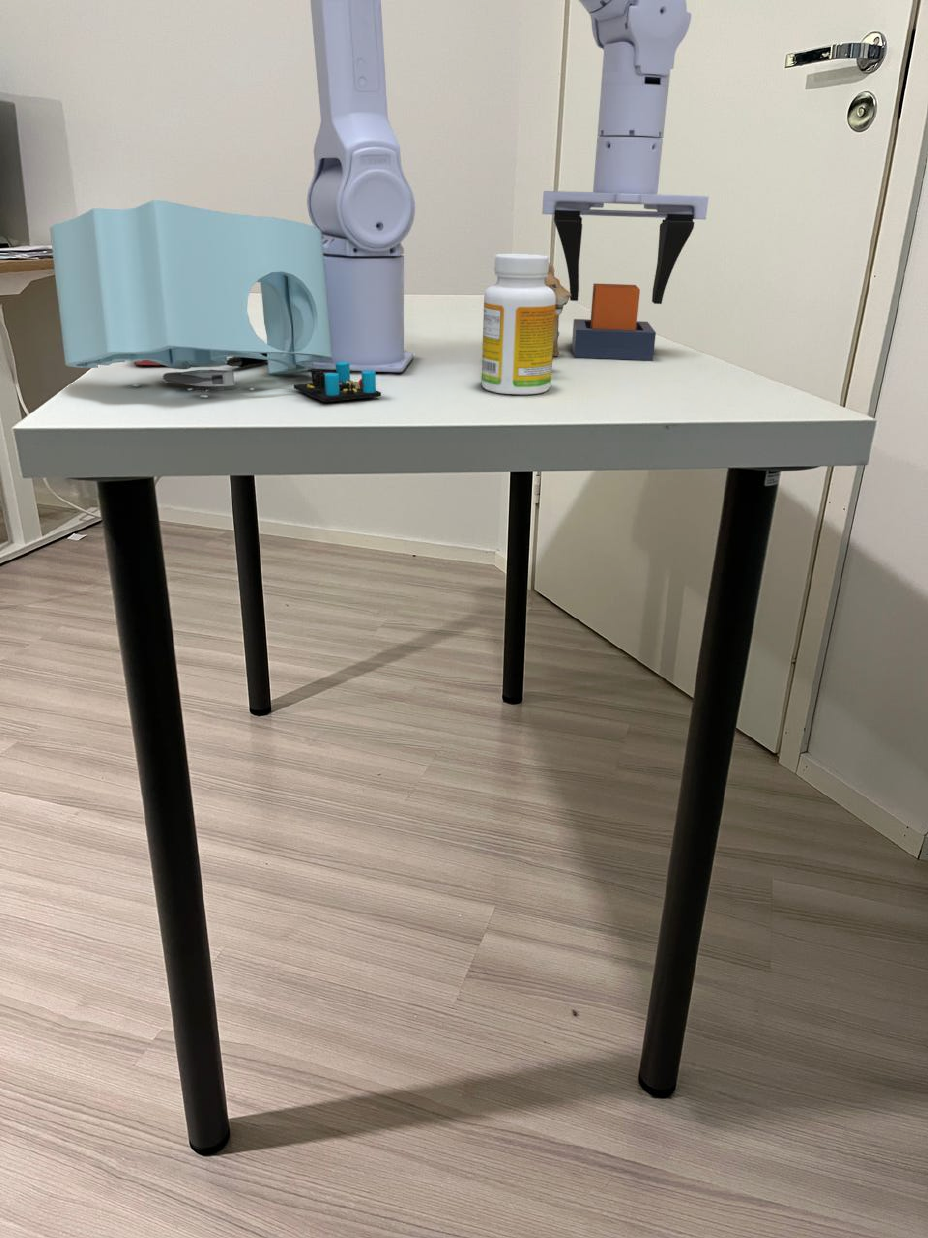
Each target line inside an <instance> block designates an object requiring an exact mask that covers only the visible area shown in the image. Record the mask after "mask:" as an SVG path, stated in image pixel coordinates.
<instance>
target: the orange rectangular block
mask: <svg viewBox="0 0 928 1238" xmlns="http://www.w3.org/2000/svg"><path fill="white" fill-rule="evenodd" d="M592 285H593V286H592V297H591V308H590V309H591V310H590V320H591V321H590V328H591V329H618V330H636V324H637V321H638V313H639V304H640V303H639V302H640V293H641V289H640V288H639V287H638V286H637V285H636V284H622V283H621V284H618V283H595V282H594V283H593V284H592Z"/></svg>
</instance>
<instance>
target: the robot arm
mask: <svg viewBox="0 0 928 1238" xmlns="http://www.w3.org/2000/svg"><path fill="white" fill-rule="evenodd" d="M578 2H579V3H580V5H582V7H583V8H584V9H585V10H586V12H587V13H588V14H589V16H590V21H591V31H592V36H593V40H594V41H595V44H596V46H597V47H598V48H600V49H602V50H603V59H602V73H601V84H600V85H601V86H600V96H599V110H598V125H597V135H596V136H597V137H596V148H595V159H594V160H595V162H594V172H593V174H594V175H593V187H592V191H567V190H562V191H561V190H560V191H559V190H543V195H542V199H543V200H542V213H541V214H542V215H553V222H554V225H555V228H556V231H557V234H558V236H559V239H560V244H561V246H562V251H563V255H564V259H565V263H566V268H567V273H568V274H567V275H568V282H569V292H570V293H571V297H570V298H569V301H571V302H572V301H573V302H579V296H580V294H579V293H580V255H581V244H582V234H583V233H582V232H583V218H582V216H597V217H598V216H600V217H630V218H659V219H660V218H661V219H662V222H661V223H660V224H659V234H658V235H659V236H658V250H657V263H656V269H655V274H654V281H653V287H652V292H651V293H652V294H651V302H652V303H653V304H654V305H662V304H663V300H664V295H665V292H666V289H667V285H668V282H669V280H670V276H671V274H672V271H673V270H674V267H675V265H676V262H677V261H678V258H679V256H680V254H681V252H682V250H683V248H684V247H685V245H686V243H687V241H688V240H689V238H690V237H691V235H692V234H693V233H692V232H693V230H694V228H695V221H694V220H703V221H704V220H706V219H707V212H708V207H709V206H708V205H709V196H708V195H692V194H665V193H663V194H661V193H658V192H659V183H660V173H661V163H662V152H663V144H664V135H665V126H666V125H665V124H666V117H667V106H668V97H669V88H670V86H669V85H670V78H671V77H670V76H671V70H672V69H674V67H675V66H674V64H675V56H676V53H677V49H678V48H679V46H680V44H681V43H682V42H683V40H684V39H685V38H686V36H687V33H688V31H689V28H690V25H691V22H692V13H691V12H689V11H688V10H687V9H688V8H687V6H688V5H687V0H578ZM310 10H311V11H310V12H311V21H312V33H313V44H314V56H315V68H316V81H317V91H318V92H317V93H318V102H319V113H320V114H319V115H320V123H319V128H318V132H317V136H316V139H315V141H314V142H315V143H314V147H313V159H314V160H313V161H314V170H313V176H312V180H311V182H310V185H309V187H308V192H307V196H306V197H307V198H306V204H307V207H306V208H307V213H308V216H309V219H310V221H311V223H312V226H314V227H316V228H318V229H320V230H321V234H322V246H323V258H324V270H325V281H326V293H327V305H328V317H329V328H330V340H331V352H332V360H329V361H314V362H313V368H312V369H311V370H327V371H328V370H330V371H336V363H337V362H349V370H350V371H356V372H357V371H358V372H362V371H368V370H370V371H375V372H379V373H380V372H381V373H382V372H383V373H403V372H404V370H405V369H406V368H407V367H408V365H409V364H410V362H411V360H412V359H413V358H414V352H413V351H410V350H409V351H406V350H405V255H404V254H405V248H404V246H403V245H402V242H403V241H404V240H405V238H406V237H408V235H409V233H410V231H411V229H412V226H413V224H414V220H415V215H416V201H415V197H414V196H415V195H414V193H413V190H412V187H411V185H410V183H409V182H408V180H407V178H406V175H405V173H404V170H403V166H402V158H401V157H402V155H401V146H400V143H399V140H398V139H397V136H396V134H395V132H394V129H393V128H392V125H391V123H390V121H389V117H388V116H389V115H388V101H387V100H388V99H387V83H386V81H387V80H386V67H385V66H386V65H385V49H384V47H385V46H384V33H383V31H384V30H383V16H382V0H310ZM605 204H614V205H615V204H617V205H618V204H619V205H620V204H621V205H643V209H645V210H625V209H621V210H620V209H602V208H604V206H605ZM592 208H593V209H592ZM598 208H599V209H598ZM651 210H652V211H651ZM653 210H655V211H653ZM663 218H664V219H663Z"/></svg>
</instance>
